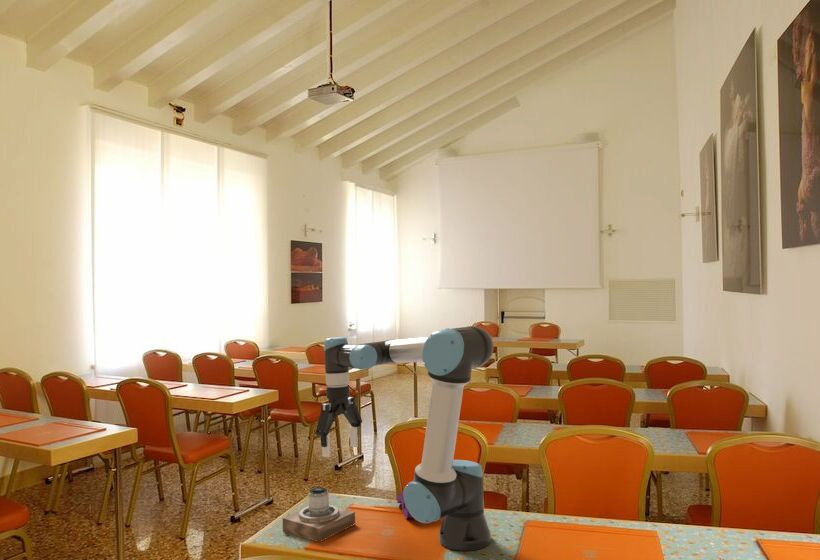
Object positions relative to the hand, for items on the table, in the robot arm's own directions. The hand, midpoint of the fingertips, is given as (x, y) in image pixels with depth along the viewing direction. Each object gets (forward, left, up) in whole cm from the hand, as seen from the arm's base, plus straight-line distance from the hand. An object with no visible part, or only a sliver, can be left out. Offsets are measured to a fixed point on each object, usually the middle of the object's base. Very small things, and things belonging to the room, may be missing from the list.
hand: (340, 451), depth 203 cm
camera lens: (+3, +7, -19) cm, 20 cm away
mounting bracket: (-13, -21, -23) cm, 34 cm away
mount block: (+3, +7, -23) cm, 24 cm away
